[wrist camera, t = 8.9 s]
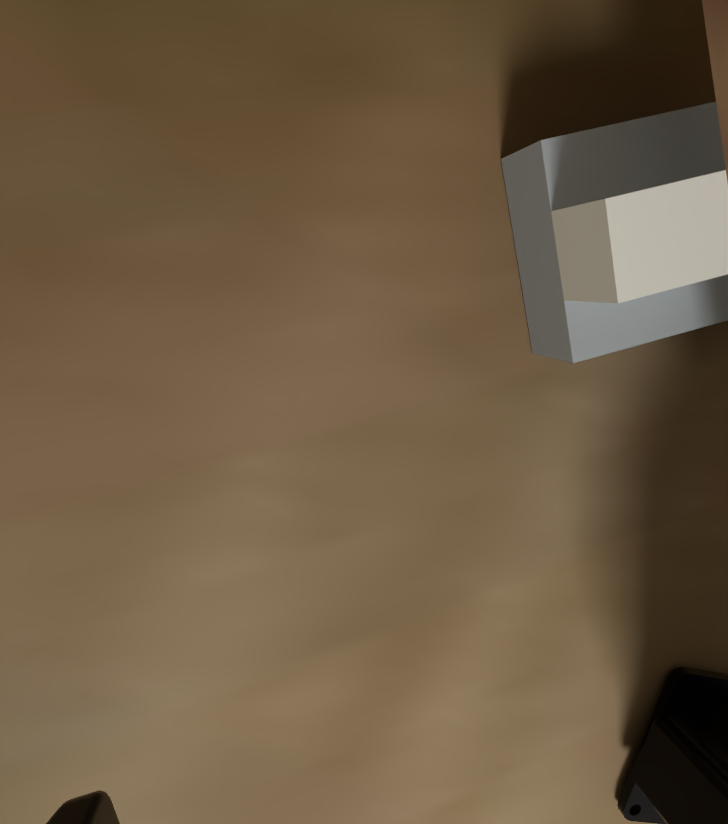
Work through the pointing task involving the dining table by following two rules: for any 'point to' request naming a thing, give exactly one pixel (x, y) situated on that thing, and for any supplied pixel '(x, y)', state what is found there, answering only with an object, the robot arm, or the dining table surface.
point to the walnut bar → (719, 61)
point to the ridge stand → (621, 233)
